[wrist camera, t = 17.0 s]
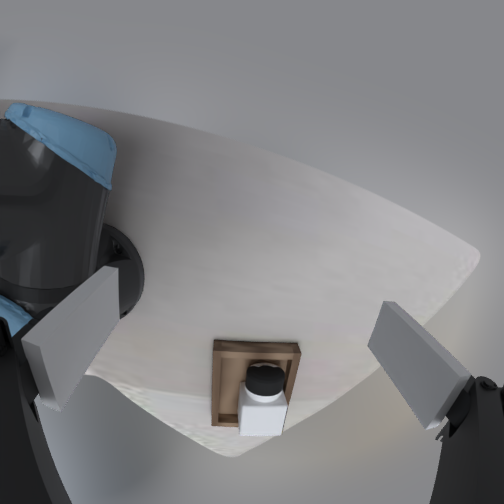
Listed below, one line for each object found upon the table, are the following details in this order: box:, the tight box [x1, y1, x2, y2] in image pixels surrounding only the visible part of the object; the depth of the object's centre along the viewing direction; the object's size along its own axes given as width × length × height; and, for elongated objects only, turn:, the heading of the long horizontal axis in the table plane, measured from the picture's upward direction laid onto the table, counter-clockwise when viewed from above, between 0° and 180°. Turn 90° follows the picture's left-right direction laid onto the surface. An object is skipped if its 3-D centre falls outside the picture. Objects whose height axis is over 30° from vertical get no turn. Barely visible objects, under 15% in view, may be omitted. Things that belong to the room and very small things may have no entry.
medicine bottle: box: [238, 363, 288, 436], centre depth 42 cm, size 7×7×12 cm
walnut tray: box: [212, 340, 301, 427], centre depth 45 cm, size 13×18×3 cm
